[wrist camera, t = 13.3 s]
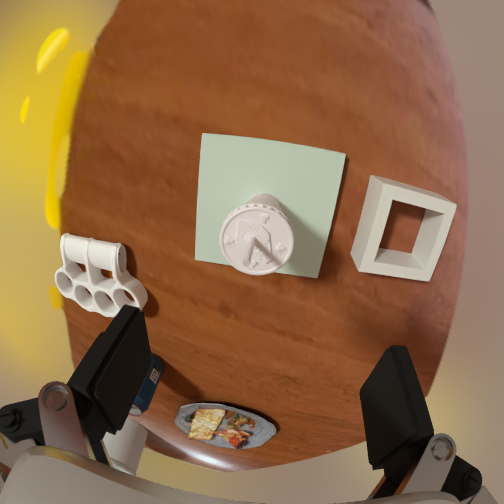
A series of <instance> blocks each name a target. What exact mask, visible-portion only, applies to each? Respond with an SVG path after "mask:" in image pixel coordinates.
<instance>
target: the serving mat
mask: <svg viewBox="0 0 504 504" xmlns="http://www.w3.org/2000/svg"><path fill="white" fill-rule="evenodd" d="M345 156H346V154H344V153H340V152H336V151H331V150H326V149H321V148H316V147H311V146H305V145H299V144H293V143H287V142H281V141H274V140H267V139H259V138H251V137H242V136H233V135H222V134H209V133H203V134H202V142H201V154H200V167H199V181H198V198H197V218H196V245H195V260H200V261H206V262H213V263H219V264H225V265H231V264H230V263H229V262H228V261H227V260H226V259H225V257H224V255H223V253H222V251H221V248H220V243H219V236H220V231H221V228H222V225H223V223H224V221H225V219H226V218H227V216H228V215H229V214H230V213H231V212H232V211H234V210H235V209H236V208H238V207H240V206H242V205H244V204H245V203H246V202H247V201H248V200H249V199H250V198H251V197H253V196H254V195H256V194H258V193H268V194H271V195H272V196H274V197H275V198H276V199H277V201H278V203H279V205H280V208H281V210H282V212H283V214H284V215H285V216H286V217H287V218H288V219H289V221H290V223H291V225H292V227H293V231H294V236H295V239H294V248H293V252H292V255H291V257H290V258H289V260H288V261H287V263H286V264H285V265H284V266H283V267H281V268H280V269H278V270H277V271H275V272H277V273H284V274H291V275H298V276H304V277H311V278H317V277H318V274H319V270H320V266H321V262H322V259H323V255H324V251H325V247H326V243H327V239H328V235H329V231H330V227H331V223H332V218H333V214H334V210H335V205H336V201H337V196H338V191H339V187H340V182H341V177H342V172H343V167H344V161H345Z"/></svg>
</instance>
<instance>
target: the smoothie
mask: <svg viewBox="0 0 504 504" xmlns="http://www.w3.org/2000/svg"><path fill="white" fill-rule="evenodd" d="M294 239H295V236H294V231H293V227H292V225H291V223H290V221H289V219H288V218H287V217H286V216H285V215H284V214H283V212H282V210H281V208H280V205H279V203H278V201H277V199H276V198H275V197H274V196H272V195H271V194H268V193H258V194H256V195H254V196H253V197H251V198H250V199H249V200H248V201H247V202H246V203H245V204H244V205H242V206H240V207H238V208H236V209H235V210H234V211H232V212H231V213H230V214H229V215H228V216H227V218H226V219H225V221H224V223H223V225H222V228H221V231H220V236H219V243H220V248H221V251H222V253H223V255H224V257H225V259H226V260H227V261H228V262H229V263H230V264H231V265H232V266H233V267H234V268H236V269H237V270H239V271H241V272H244V273H247V274H251V275H265V274H269V273H272V272H275V271H277V270H278V269H280V268H281V267H283V266H284V265H285V264H286V263H287V261H288V260H289V258H290V257H291V255H292V252H293V248H294Z"/></svg>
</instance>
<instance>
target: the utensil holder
mask: <svg viewBox="0 0 504 504" xmlns="http://www.w3.org/2000/svg"><path fill="white" fill-rule="evenodd" d="M147 435H148V432H147V430H146V429H145V428H144V427H143V426H142V425H141V424H139V423H137V422H136V421H134V420H132V419H130V418H128V417H127V419H126V421H125V423H124V426H123V428H122V429H121V430H120V431H118V430H117V432H116V435H113V434H110V433H108V432H106V434H105V436H104V438H103V441H104V444H105V447H106V449H107V452H108V455H109V457H110V460H111V462H112V465H113V467H114V468H115V469H117V470H120V471H122V472H125V473H128V474H131V475H133V476H136V470H137V468H138V464H139V461H140V458H141V455H142V451H143V448H144V445H145V442H146V438H147Z"/></svg>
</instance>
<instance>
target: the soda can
mask: <svg viewBox="0 0 504 504" xmlns="http://www.w3.org/2000/svg"><path fill="white" fill-rule="evenodd" d="M151 355H152V362H151V365H150V368H149V370H148V372H147V374H146V376H145V378H144V381H143V383H142V385H141V387H140V389H139V392H138V394H137V396H136V398H135V400H134V403H133V405H132V407H131V410H130V412H129V415H132V416H141V415H142V413H143V412H145V411H146V410H147V409H148V407H149V405H150V402H151V400H152V397H153V395H154V393H155V390H156V388H157V385H158V383H159V381H160V378H161V376H162V373H163V366H162V362H161V360H160V359H159V358H158V357H157V356H156V355H155V354H153V353H151Z"/></svg>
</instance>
